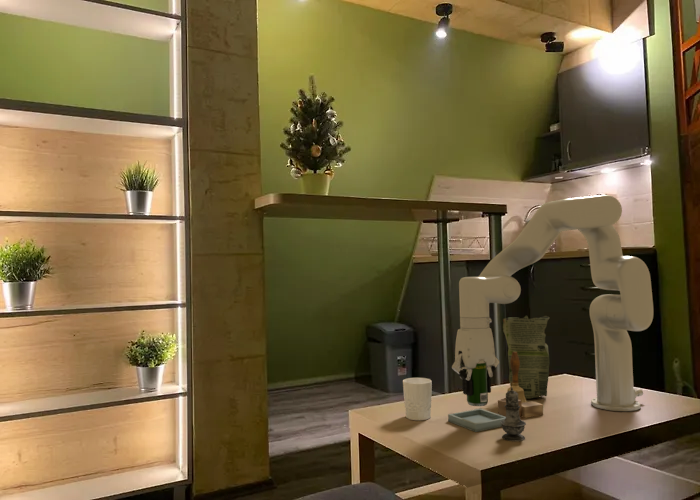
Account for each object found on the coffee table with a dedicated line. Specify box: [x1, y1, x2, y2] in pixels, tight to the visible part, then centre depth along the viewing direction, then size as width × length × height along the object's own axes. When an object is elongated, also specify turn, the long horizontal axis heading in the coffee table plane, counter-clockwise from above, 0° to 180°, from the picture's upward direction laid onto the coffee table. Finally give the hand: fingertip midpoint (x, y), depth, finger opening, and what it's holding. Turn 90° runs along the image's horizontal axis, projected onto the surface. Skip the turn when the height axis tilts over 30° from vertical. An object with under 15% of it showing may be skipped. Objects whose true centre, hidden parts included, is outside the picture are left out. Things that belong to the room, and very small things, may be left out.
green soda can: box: [466, 359, 489, 407], centre depth 142 cm, size 5×5×12 cm
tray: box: [447, 407, 506, 433], centre depth 141 cm, size 11×11×2 cm
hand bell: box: [506, 352, 528, 403], centre depth 156 cm, size 8×8×16 cm
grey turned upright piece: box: [500, 386, 527, 442], centre depth 129 cm, size 6×6×12 cm
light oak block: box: [522, 400, 544, 418], centre depth 148 cm, size 6×4×3 cm, turn 110°
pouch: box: [502, 315, 550, 400], centre depth 169 cm, size 11×12×25 cm
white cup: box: [402, 377, 433, 421], centre depth 149 cm, size 8×8×10 cm
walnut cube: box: [497, 397, 523, 418], centre depth 146 cm, size 4×4×4 cm
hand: (476, 392), depth 142 cm, fingers closed on green soda can, 5 cm apart
